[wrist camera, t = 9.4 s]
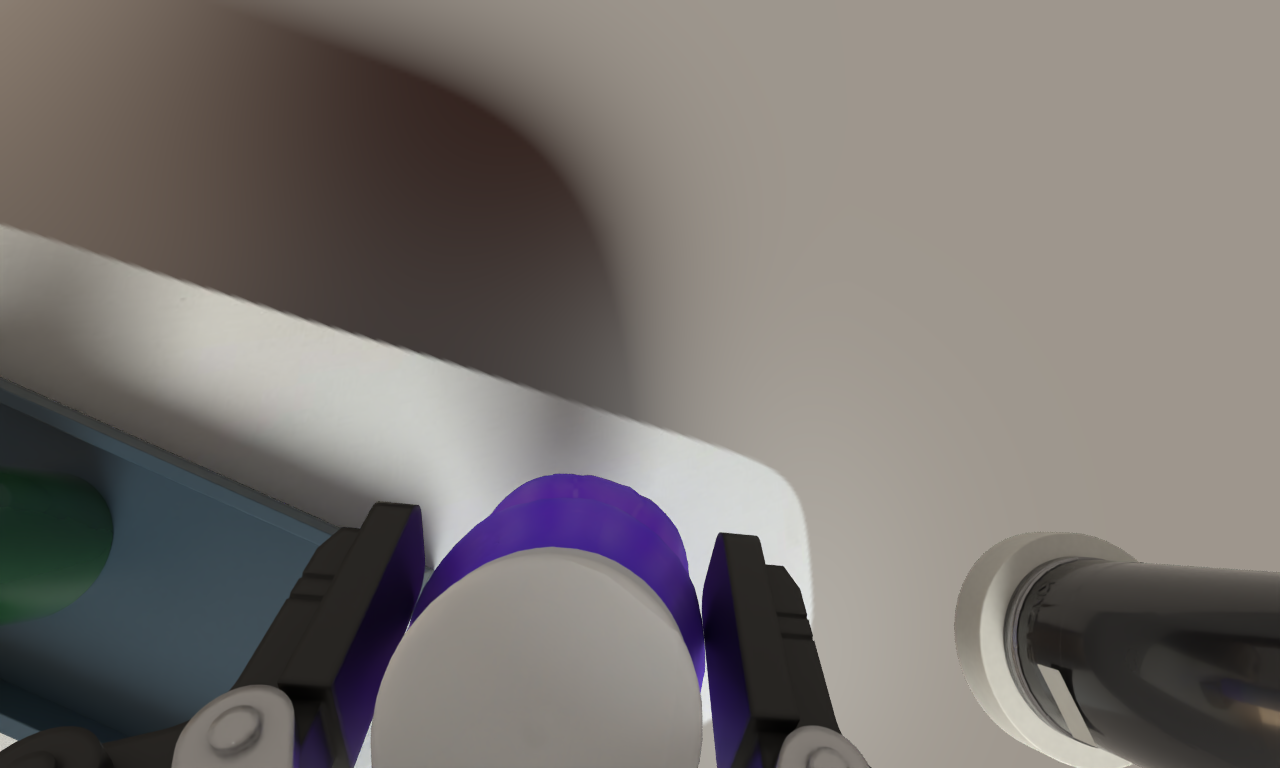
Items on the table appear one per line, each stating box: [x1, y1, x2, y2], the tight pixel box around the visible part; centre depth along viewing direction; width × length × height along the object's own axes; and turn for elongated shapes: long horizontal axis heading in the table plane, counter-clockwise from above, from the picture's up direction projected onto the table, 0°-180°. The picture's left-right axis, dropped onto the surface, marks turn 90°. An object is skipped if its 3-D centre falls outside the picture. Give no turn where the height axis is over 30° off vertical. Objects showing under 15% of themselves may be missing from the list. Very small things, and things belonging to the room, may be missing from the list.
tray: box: [0, 377, 434, 744], centre depth 26 cm, size 32×11×3 cm, turn 67°
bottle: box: [371, 474, 705, 768], centre depth 16 cm, size 7×6×17 cm
